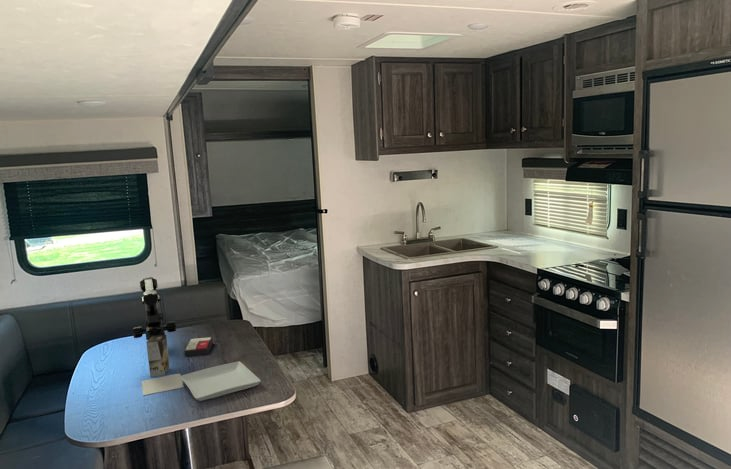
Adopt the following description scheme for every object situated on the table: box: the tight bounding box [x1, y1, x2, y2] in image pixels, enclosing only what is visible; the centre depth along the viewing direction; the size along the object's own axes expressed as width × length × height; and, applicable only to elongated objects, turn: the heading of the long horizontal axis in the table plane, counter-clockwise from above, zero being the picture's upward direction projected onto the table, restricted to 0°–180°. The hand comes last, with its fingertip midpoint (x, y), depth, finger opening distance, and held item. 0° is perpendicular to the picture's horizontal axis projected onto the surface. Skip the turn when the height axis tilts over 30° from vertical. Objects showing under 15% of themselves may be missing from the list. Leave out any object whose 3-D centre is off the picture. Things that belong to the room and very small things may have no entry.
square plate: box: [179, 360, 262, 402], centre depth 230 cm, size 27×27×4 cm
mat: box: [141, 372, 185, 397], centre depth 234 cm, size 16×16×1 cm
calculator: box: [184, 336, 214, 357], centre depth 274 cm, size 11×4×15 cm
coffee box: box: [146, 334, 171, 377], centre depth 246 cm, size 9×6×16 cm
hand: (156, 345), depth 251 cm, fingers closed
